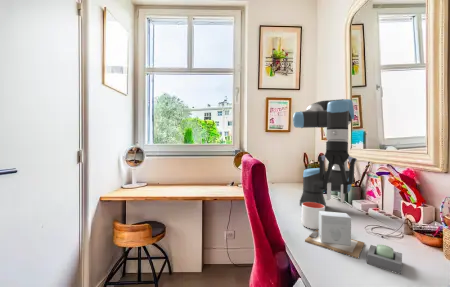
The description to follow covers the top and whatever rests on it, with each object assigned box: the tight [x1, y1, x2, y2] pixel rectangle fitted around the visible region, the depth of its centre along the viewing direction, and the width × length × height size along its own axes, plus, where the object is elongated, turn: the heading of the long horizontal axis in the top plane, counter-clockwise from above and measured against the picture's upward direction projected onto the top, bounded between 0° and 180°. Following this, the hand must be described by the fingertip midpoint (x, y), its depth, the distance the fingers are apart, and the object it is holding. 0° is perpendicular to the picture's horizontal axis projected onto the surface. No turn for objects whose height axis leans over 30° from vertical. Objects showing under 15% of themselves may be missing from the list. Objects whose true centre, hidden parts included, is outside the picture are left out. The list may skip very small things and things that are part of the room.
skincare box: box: [319, 210, 352, 246], centre depth 83 cm, size 10×6×10 cm, turn 76°
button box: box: [366, 244, 403, 275], centre depth 70 cm, size 9×9×3 cm
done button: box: [376, 244, 394, 260], centre depth 70 cm, size 4×4×3 cm
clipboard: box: [304, 229, 365, 259], centre depth 83 cm, size 18×14×1 cm
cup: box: [300, 202, 326, 230], centre depth 99 cm, size 10×10×10 cm
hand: (335, 200), depth 83 cm, fingers open, 4 cm apart
